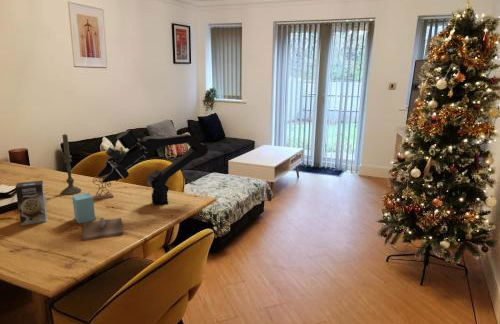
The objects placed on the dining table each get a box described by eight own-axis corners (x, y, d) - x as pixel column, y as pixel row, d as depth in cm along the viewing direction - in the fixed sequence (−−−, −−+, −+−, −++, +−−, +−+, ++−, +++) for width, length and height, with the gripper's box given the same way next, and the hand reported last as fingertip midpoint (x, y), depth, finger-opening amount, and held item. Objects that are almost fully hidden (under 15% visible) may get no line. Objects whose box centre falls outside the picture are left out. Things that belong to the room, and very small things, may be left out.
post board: (121, 220, 145) (120, 209, 144) (123, 234, 133) (122, 222, 131) (84, 224, 140) (83, 213, 139) (82, 240, 128) (80, 228, 126)
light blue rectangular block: (91, 214, 150) (88, 192, 147) (95, 219, 145) (92, 197, 142) (74, 218, 146) (72, 195, 143) (78, 223, 141) (75, 200, 139)
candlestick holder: (68, 196, 171) (60, 135, 164) (57, 192, 176) (50, 133, 169) (85, 191, 179) (79, 133, 171) (74, 187, 184) (68, 131, 176)
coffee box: (20, 226, 138) (14, 187, 134) (22, 220, 144) (16, 182, 140) (47, 221, 142) (41, 184, 138) (47, 216, 148) (42, 179, 144)
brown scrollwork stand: (112, 194, 174) (110, 171, 171) (113, 197, 171) (111, 173, 168) (93, 197, 170) (90, 174, 167) (93, 200, 167) (91, 176, 164)
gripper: (114, 138, 156) (84, 160, 151) (125, 146, 141) (92, 170, 136) (129, 157, 162) (100, 178, 157) (141, 167, 147) (109, 190, 142)
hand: (100, 179), depth 148 cm, fingers open, 9 cm apart
